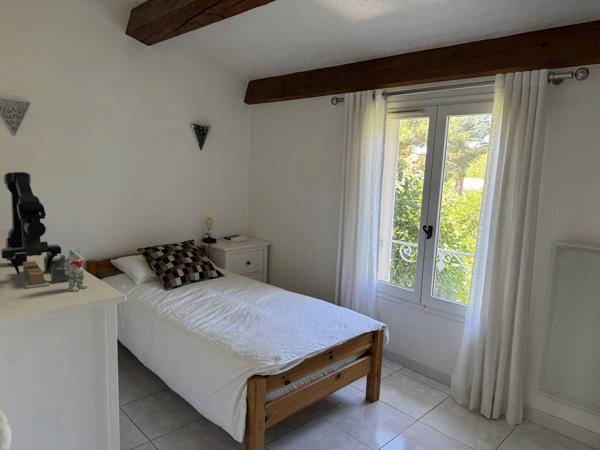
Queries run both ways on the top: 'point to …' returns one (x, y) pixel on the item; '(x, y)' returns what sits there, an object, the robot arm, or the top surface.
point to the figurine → (74, 270)
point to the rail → (33, 273)
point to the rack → (57, 270)
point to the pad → (29, 283)
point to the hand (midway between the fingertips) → (33, 273)
